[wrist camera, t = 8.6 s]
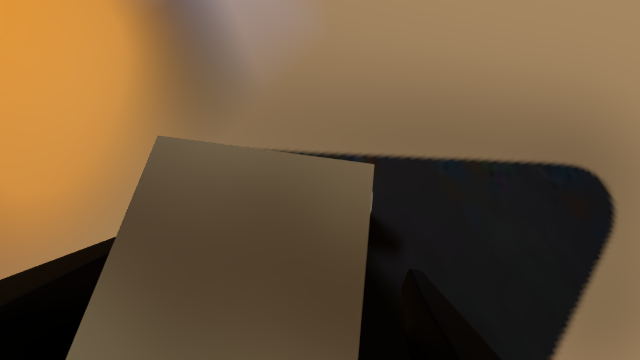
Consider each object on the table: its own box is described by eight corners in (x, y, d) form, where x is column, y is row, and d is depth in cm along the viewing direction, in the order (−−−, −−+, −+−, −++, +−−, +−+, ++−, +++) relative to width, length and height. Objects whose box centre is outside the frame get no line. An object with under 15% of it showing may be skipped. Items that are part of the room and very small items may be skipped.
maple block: (328, 307, 16) (349, 463, 4) (255, 295, 16) (48, 400, 4) (337, 232, 18) (374, 164, 5) (271, 222, 18) (158, 135, 6)
